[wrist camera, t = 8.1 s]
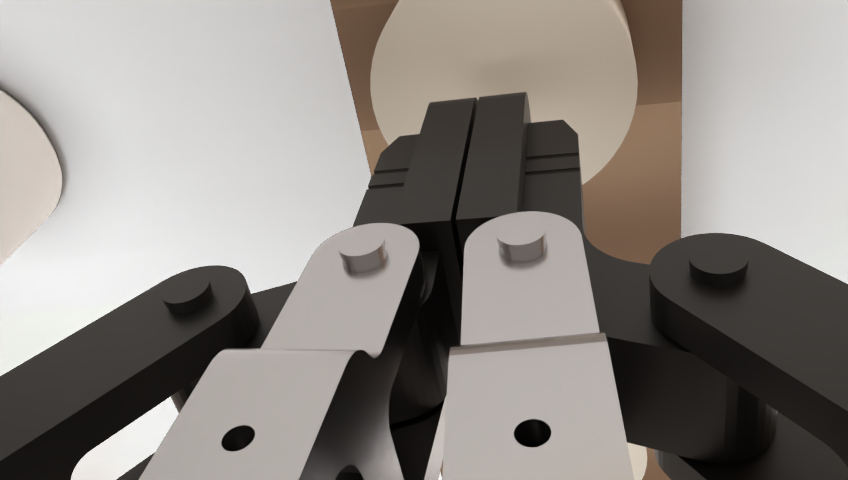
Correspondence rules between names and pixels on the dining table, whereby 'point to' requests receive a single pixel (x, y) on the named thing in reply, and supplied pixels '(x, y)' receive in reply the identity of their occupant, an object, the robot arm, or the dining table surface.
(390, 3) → the mount
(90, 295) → the dining table surface
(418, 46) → the knob
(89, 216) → the dining table surface
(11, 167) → the can
